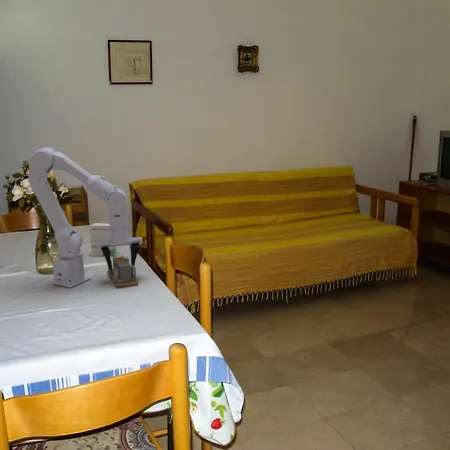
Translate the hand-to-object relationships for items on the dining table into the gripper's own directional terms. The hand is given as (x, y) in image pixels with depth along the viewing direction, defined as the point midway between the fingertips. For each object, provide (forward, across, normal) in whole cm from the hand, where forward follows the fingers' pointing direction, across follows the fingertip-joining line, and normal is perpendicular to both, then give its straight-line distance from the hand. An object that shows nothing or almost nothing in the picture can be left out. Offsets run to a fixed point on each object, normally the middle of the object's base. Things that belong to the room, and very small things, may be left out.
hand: (121, 267), depth 176 cm
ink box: (+4, 0, -31) cm, 32 cm away
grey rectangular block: (+2, 0, 0) cm, 2 cm away
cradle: (+4, 0, 0) cm, 4 cm away
